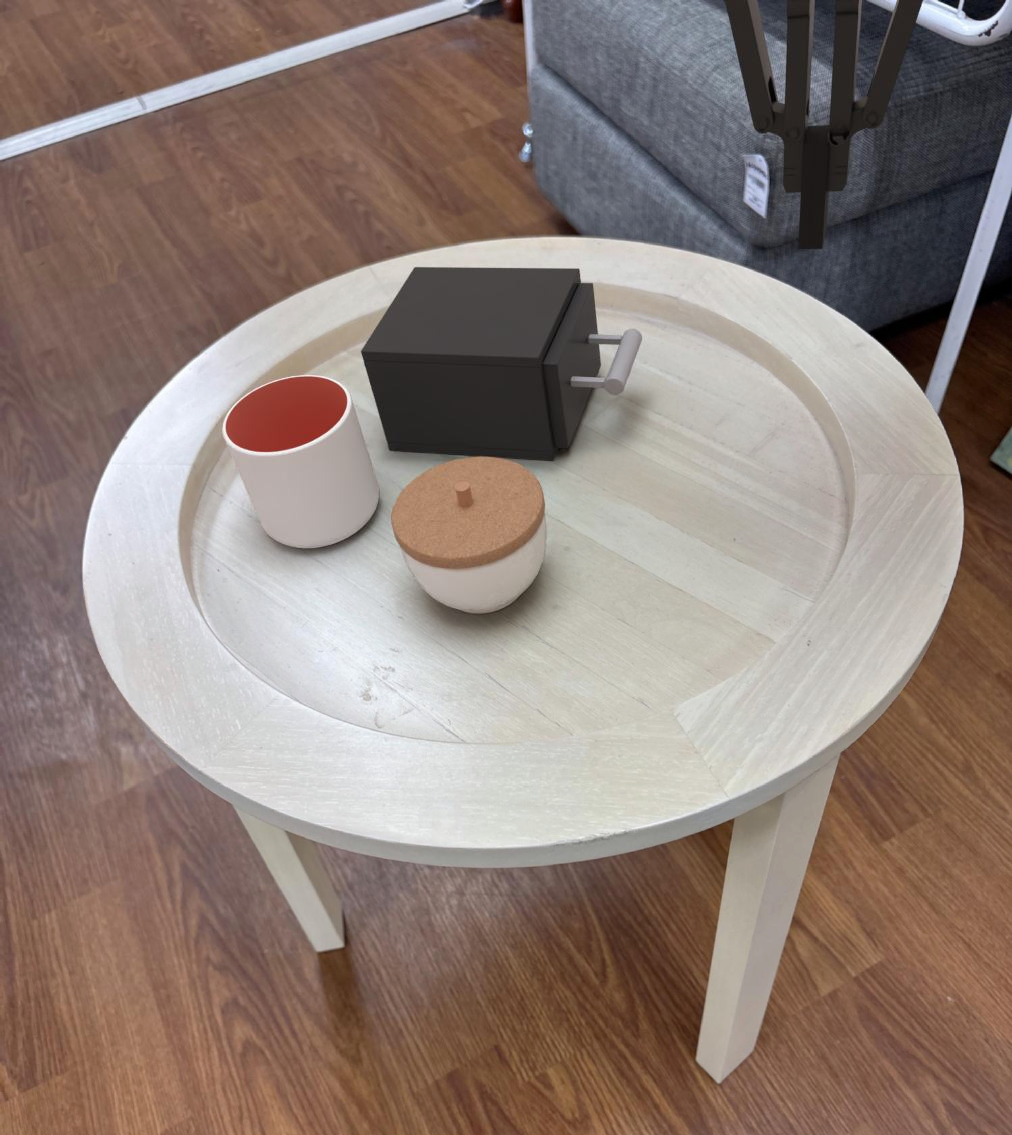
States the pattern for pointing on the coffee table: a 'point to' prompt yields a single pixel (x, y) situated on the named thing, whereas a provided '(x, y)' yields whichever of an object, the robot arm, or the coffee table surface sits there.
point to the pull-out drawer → (582, 363)
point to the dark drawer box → (469, 360)
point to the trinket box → (472, 532)
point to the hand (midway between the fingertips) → (812, 238)
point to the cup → (303, 460)
